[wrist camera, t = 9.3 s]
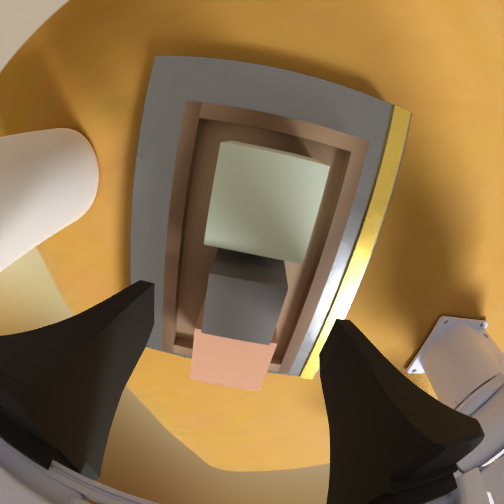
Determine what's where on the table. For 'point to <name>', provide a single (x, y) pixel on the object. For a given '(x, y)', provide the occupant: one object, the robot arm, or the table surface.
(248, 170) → the sage block
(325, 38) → the table surface
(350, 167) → the tray
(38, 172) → the pill bottle
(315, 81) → the dock
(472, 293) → the table surface
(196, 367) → the terracotta block
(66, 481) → the robot arm
